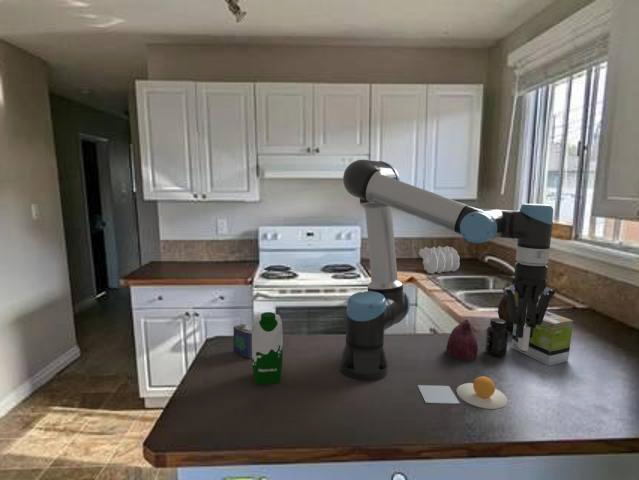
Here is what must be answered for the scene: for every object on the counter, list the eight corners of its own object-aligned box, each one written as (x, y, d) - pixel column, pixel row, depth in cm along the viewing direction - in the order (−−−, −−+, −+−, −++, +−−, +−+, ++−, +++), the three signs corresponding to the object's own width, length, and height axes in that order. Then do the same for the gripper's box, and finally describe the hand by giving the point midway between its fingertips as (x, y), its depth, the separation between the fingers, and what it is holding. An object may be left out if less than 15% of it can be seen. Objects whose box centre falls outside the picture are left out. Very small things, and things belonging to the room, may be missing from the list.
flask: (255, 357, 129) (255, 326, 127) (248, 360, 127) (248, 328, 125) (237, 349, 135) (237, 319, 133) (230, 352, 132) (230, 321, 131)
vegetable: (477, 370, 131) (490, 333, 125) (445, 363, 133) (456, 326, 127) (473, 350, 140) (485, 315, 134) (443, 344, 142) (453, 308, 136)
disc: (466, 408, 102) (466, 407, 102) (450, 383, 115) (450, 382, 115) (516, 409, 102) (516, 408, 102) (494, 384, 115) (494, 383, 115)
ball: (489, 378, 105) (503, 391, 106) (479, 368, 110) (492, 381, 111) (474, 392, 105) (488, 405, 106) (465, 382, 111) (479, 395, 111)
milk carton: (252, 386, 111) (252, 318, 108) (251, 371, 119) (251, 307, 116) (283, 384, 112) (284, 316, 110) (280, 369, 121) (280, 306, 118)
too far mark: (425, 403, 104) (425, 402, 104) (417, 385, 113) (417, 385, 113) (459, 403, 104) (459, 403, 104) (448, 386, 113) (448, 385, 113)
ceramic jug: (537, 341, 148) (546, 263, 144) (493, 332, 156) (500, 258, 152) (540, 328, 162) (548, 256, 158) (499, 320, 170) (506, 252, 166)
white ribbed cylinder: (456, 278, 265) (428, 279, 254) (441, 262, 278) (413, 263, 267) (469, 256, 256) (440, 256, 245) (451, 240, 269) (423, 240, 258)
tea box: (509, 348, 141) (513, 308, 139) (529, 344, 145) (533, 305, 143) (548, 366, 128) (553, 322, 126) (569, 361, 132) (574, 319, 130)
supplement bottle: (480, 349, 140) (483, 317, 138) (499, 349, 140) (502, 316, 139) (490, 358, 133) (494, 324, 131) (510, 357, 134) (513, 323, 132)
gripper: (513, 265, 100) (504, 354, 103) (565, 266, 100) (554, 355, 103) (500, 259, 107) (492, 342, 111) (548, 260, 107) (539, 343, 111)
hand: (522, 348), depth 107 cm, fingers closed
